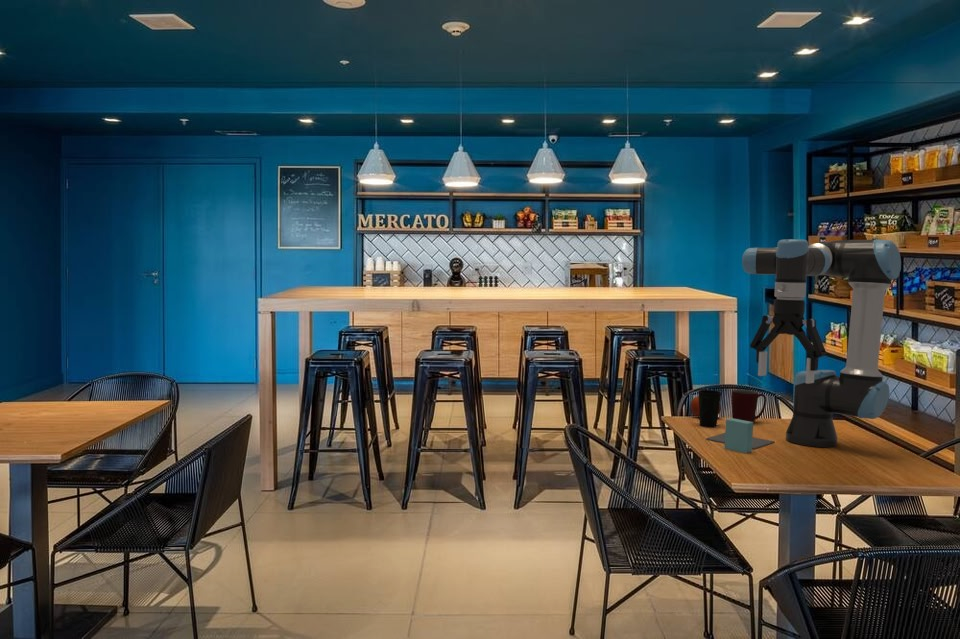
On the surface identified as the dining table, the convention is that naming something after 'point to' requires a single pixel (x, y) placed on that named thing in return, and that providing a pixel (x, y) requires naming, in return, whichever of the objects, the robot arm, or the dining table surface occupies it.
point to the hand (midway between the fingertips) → (785, 379)
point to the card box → (738, 435)
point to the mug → (746, 405)
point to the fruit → (697, 406)
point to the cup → (709, 407)
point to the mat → (755, 441)
